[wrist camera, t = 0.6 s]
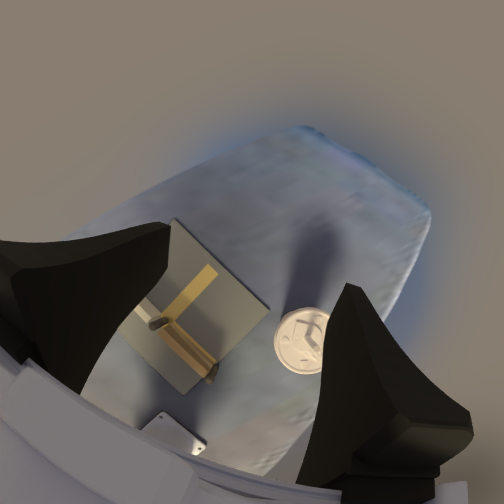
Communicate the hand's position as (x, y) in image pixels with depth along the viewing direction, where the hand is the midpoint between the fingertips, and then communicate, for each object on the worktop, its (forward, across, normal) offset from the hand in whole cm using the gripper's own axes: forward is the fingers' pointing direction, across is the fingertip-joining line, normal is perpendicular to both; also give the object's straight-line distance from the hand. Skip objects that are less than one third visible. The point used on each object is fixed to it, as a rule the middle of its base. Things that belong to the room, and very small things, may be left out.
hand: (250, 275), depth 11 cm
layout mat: (+15, +10, +19) cm, 26 cm away
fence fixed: (+14, +7, +22) cm, 27 cm away
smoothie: (+18, -5, +17) cm, 26 cm away
